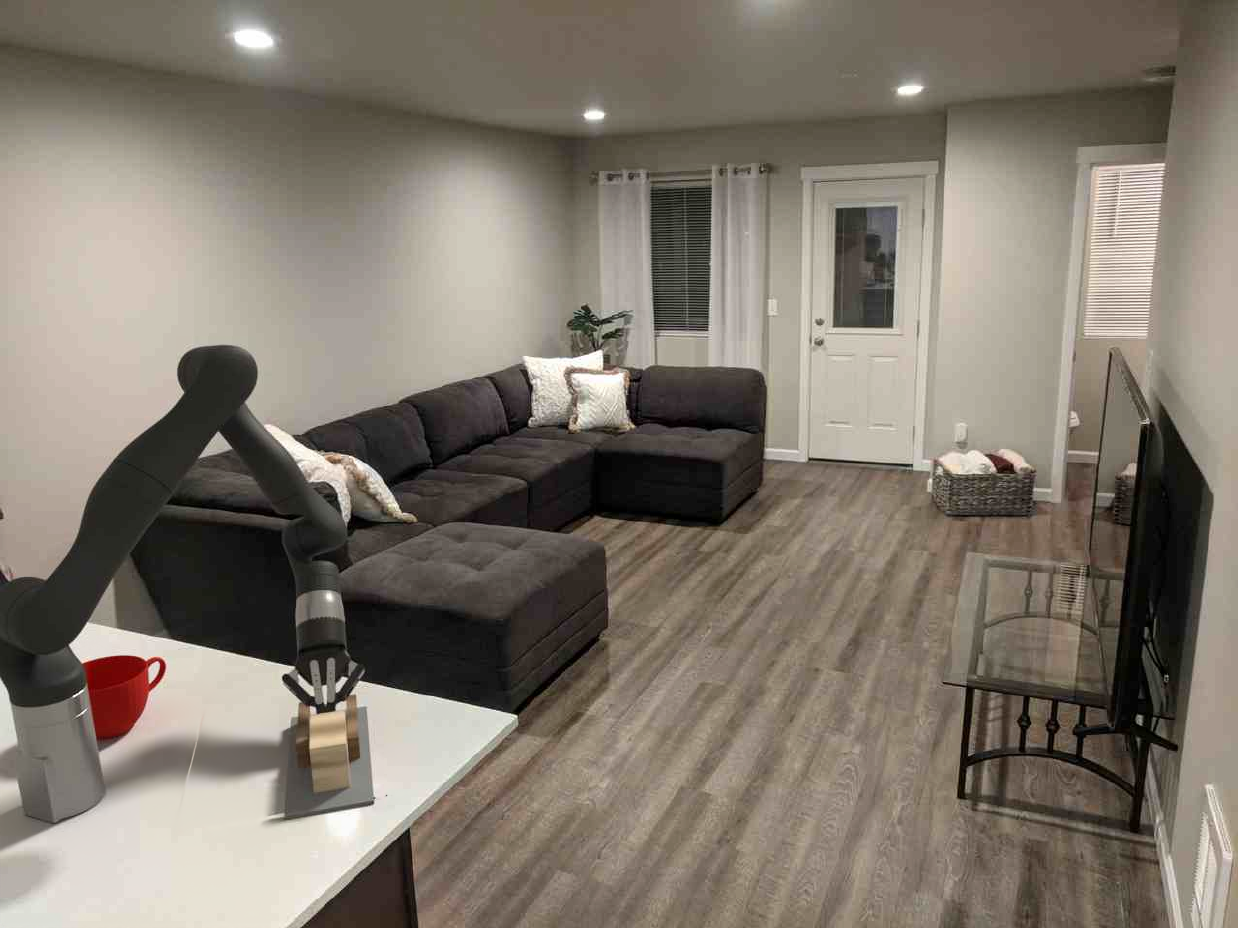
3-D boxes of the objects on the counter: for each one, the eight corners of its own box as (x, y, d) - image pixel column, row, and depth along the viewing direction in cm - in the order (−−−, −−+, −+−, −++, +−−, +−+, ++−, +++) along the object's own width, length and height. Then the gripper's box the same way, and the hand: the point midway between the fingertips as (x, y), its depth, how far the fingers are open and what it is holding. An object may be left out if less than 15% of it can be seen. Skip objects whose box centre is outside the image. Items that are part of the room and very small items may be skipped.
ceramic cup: (193, 710, 158) (186, 656, 156) (96, 758, 144) (86, 699, 142) (146, 692, 165) (139, 639, 162) (49, 736, 151) (39, 680, 148)
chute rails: (360, 757, 143) (358, 736, 142) (298, 767, 140) (296, 746, 139) (357, 713, 156) (356, 694, 155) (300, 721, 153) (298, 702, 152)
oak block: (350, 786, 135) (346, 743, 134) (314, 792, 134) (309, 749, 132) (348, 750, 145) (344, 709, 143) (314, 756, 143) (310, 715, 142)
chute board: (374, 803, 132) (373, 800, 132) (284, 819, 129) (284, 816, 129) (366, 708, 158) (366, 706, 158) (291, 720, 155) (291, 717, 155)
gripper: (274, 620, 147) (279, 729, 138) (361, 610, 151) (371, 715, 142) (279, 638, 153) (284, 743, 145) (363, 627, 157) (372, 729, 148)
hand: (327, 729), depth 143 cm, fingers closed
